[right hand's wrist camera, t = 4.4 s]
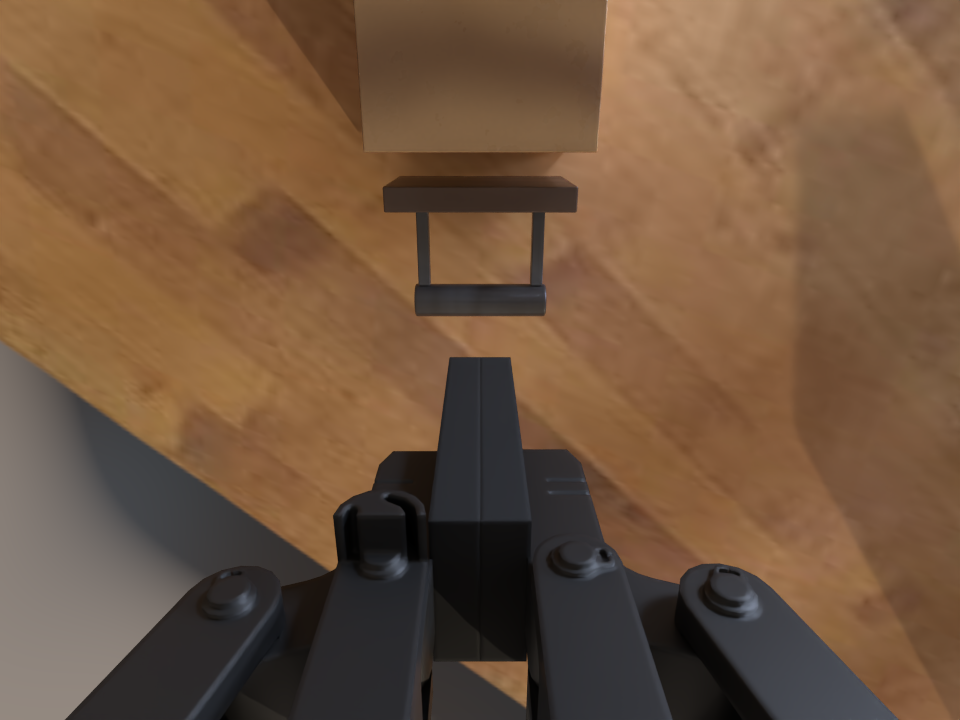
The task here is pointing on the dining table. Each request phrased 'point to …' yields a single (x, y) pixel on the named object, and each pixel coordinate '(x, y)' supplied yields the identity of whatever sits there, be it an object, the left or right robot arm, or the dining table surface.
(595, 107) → the cabinet
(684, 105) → the dining table surface
